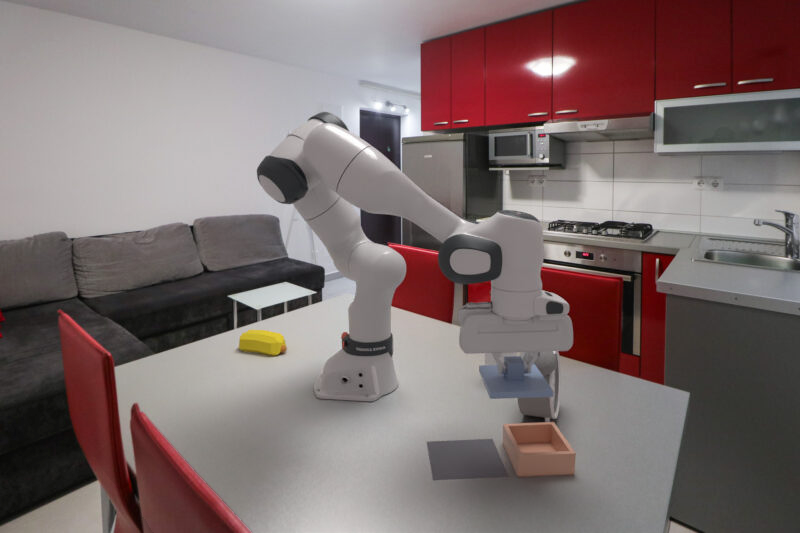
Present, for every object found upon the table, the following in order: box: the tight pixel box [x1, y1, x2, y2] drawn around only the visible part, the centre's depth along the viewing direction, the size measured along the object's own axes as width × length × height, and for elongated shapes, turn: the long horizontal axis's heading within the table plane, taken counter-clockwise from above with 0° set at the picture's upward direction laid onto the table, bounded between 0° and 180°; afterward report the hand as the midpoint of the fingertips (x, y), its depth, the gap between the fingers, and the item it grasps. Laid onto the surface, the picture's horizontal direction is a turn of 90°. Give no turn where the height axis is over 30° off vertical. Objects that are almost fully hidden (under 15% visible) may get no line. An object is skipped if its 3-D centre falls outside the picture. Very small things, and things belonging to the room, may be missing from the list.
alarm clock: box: [517, 351, 562, 422], centre depth 102 cm, size 16×9×22 cm, turn 154°
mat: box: [426, 438, 509, 481], centre depth 89 cm, size 14×12×1 cm
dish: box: [502, 421, 577, 478], centre depth 88 cm, size 11×11×5 cm
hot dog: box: [238, 329, 288, 357], centre depth 145 cm, size 18×7×8 cm
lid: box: [478, 355, 553, 400], centre depth 83 cm, size 11×11×5 cm
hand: (514, 372), depth 83 cm, fingers closed on lid, 3 cm apart
